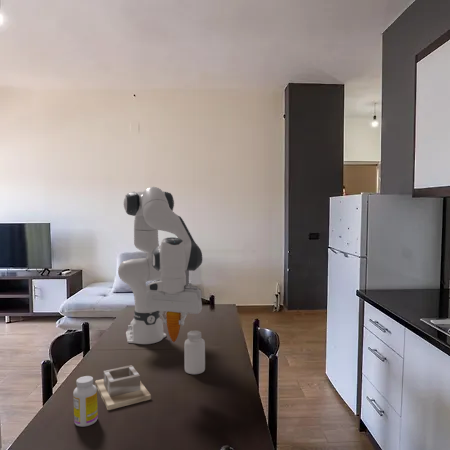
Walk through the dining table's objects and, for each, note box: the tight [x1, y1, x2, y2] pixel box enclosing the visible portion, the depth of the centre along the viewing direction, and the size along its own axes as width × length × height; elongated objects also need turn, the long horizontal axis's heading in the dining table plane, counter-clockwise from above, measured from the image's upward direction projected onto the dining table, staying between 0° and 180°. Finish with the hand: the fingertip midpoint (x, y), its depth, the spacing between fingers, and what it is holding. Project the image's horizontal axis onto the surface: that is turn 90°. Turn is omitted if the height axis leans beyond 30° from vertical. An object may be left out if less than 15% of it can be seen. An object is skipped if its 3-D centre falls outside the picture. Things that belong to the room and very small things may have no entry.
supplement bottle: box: [72, 375, 99, 427], centre depth 116 cm, size 7×7×13 cm
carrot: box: [165, 302, 182, 343], centre depth 136 cm, size 5×5×15 cm
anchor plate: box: [94, 364, 152, 411], centre depth 134 cm, size 20×14×6 cm
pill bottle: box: [183, 330, 206, 375], centre depth 151 cm, size 8×8×15 cm
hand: (173, 323), depth 136 cm, fingers closed on carrot, 4 cm apart
